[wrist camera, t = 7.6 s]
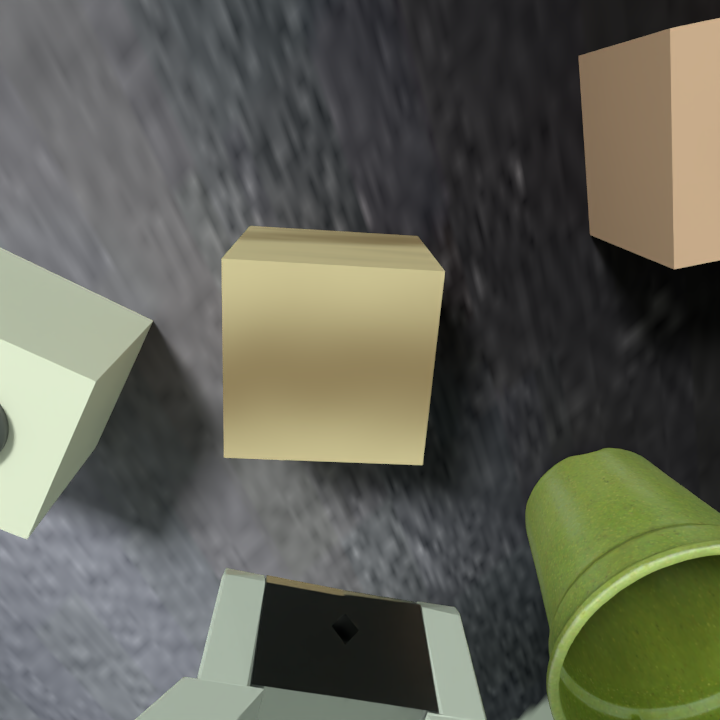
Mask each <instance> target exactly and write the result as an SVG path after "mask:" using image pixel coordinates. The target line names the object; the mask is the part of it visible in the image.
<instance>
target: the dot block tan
mask: <svg viewBox="0 0 720 720" xmlns="http://www.w3.org/2000/svg"><path fill="white" fill-rule="evenodd" d="M579 70H580V86H581V101H582V116H583V132H584V147H585V163H586V178H587V193H588V209H589V224H590V235H591V236H594V237H596V238H599V239H601V240H603V241H606V242H608V243H611V244H613V245H616V246H618V247H621V248H623V249H625V250H628V251H630V252H633V253H635V254H638V255H640V256H642V257H645V258H647V259H650V260H652V261H655V262H657V263H660V264H662V265H664V266H667V267H669V268H672V269H679V268H684V267H689V266H694V265H699V264H704V263H709V262H714V261H719V260H720V18H717V19H713V20H708V21H703V22H698V23H694V24H689V25H684V26H680V27H675V28H670V29H667V30H664V31H660V32H657V33H654V34H650V35H647V36H644V37H640V38H637V39H634V40H630V41H627V42H624V43H620V44H617V45H614V46H610V47H607V48H604V49H600V50H597V51H594V52H590V53H587V54H584V55H580V56H579Z"/></svg>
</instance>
